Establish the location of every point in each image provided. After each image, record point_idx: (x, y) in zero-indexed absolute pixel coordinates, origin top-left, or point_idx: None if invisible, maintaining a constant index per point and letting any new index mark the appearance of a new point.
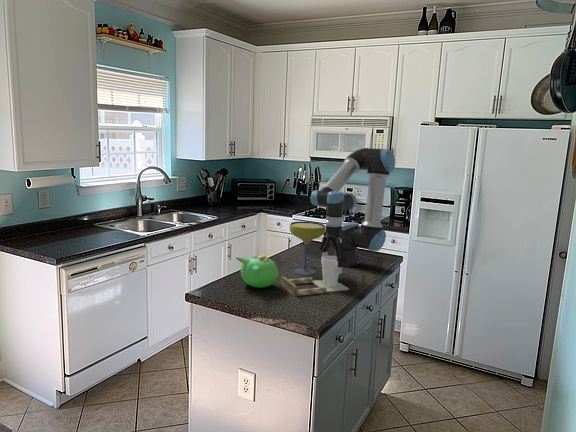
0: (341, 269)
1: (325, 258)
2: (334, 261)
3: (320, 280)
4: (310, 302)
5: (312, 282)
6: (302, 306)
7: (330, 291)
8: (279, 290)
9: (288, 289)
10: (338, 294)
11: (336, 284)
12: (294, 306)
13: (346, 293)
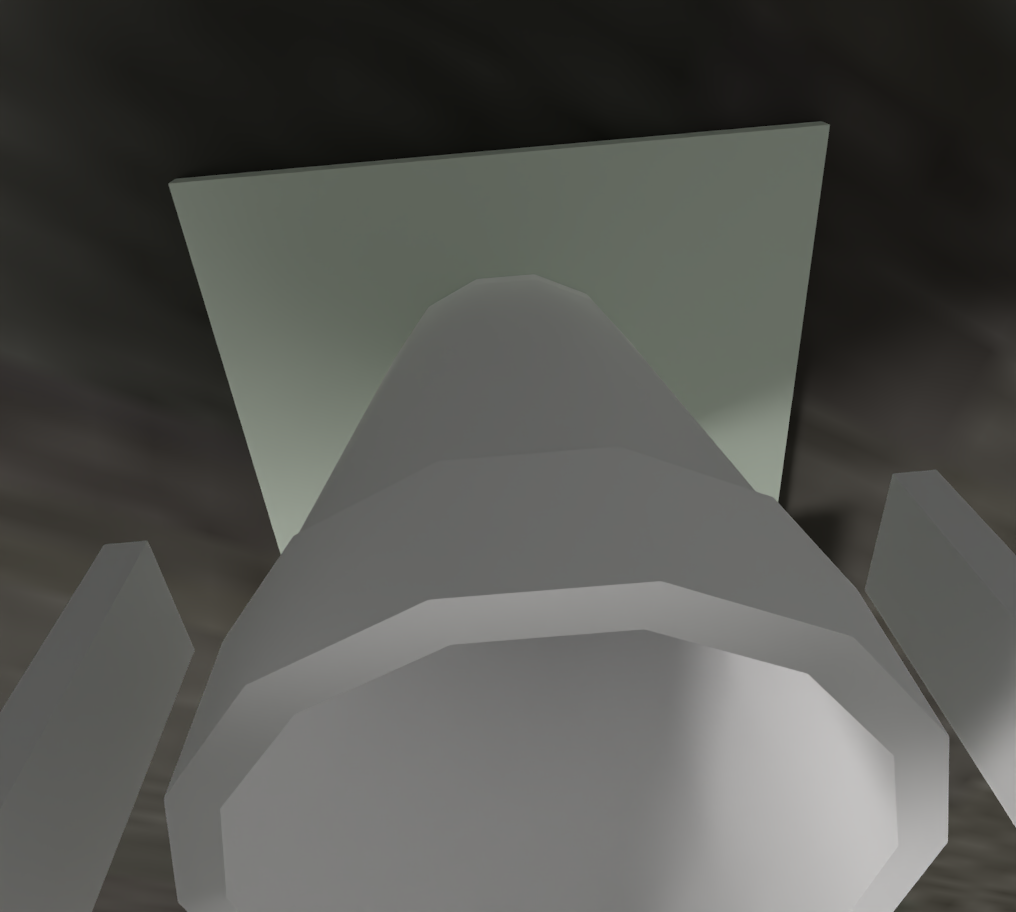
0: (1002, 551)
1: (292, 855)
2: (903, 867)
3: (271, 451)
4: (960, 761)
5: None
6: (1001, 831)
7: (777, 477)
8: None
9: None
10: (920, 407)
11: (587, 300)
12: (961, 873)
13: (952, 262)
